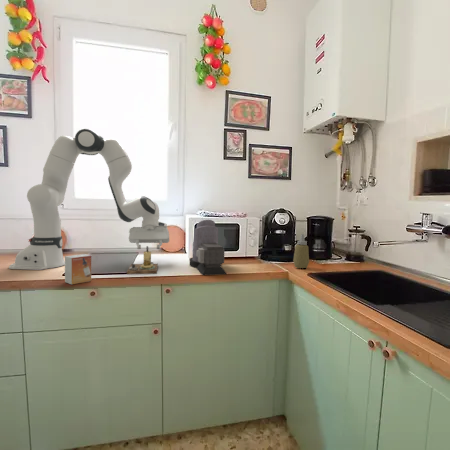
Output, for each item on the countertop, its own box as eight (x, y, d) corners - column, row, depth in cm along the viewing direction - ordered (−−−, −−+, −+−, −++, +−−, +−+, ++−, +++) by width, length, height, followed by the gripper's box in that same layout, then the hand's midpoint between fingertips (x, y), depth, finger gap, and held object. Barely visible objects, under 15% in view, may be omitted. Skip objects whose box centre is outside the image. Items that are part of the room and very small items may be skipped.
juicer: (186, 261, 156) (187, 217, 154) (214, 261, 161) (215, 218, 159) (197, 275, 127) (199, 221, 125) (231, 274, 132) (233, 222, 130)
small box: (71, 285, 108) (70, 258, 107) (64, 282, 111) (64, 256, 110) (91, 281, 114) (91, 255, 113) (85, 278, 118) (84, 253, 117)
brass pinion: (140, 268, 130) (140, 247, 130) (141, 266, 136) (141, 245, 135) (153, 268, 132) (153, 247, 131) (153, 265, 137) (153, 245, 136)
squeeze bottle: (311, 268, 149) (313, 234, 148) (304, 270, 144) (306, 235, 142) (297, 265, 155) (299, 233, 154) (290, 267, 149) (291, 234, 148)
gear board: (126, 274, 126) (126, 265, 126) (131, 266, 141) (131, 258, 141) (156, 273, 129) (156, 265, 129) (157, 266, 144) (157, 258, 143)
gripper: (129, 223, 146) (126, 244, 137) (169, 223, 150) (169, 244, 141) (130, 230, 151) (127, 252, 142) (169, 231, 155) (169, 252, 146)
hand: (148, 248), depth 142 cm, fingers open, 8 cm apart
